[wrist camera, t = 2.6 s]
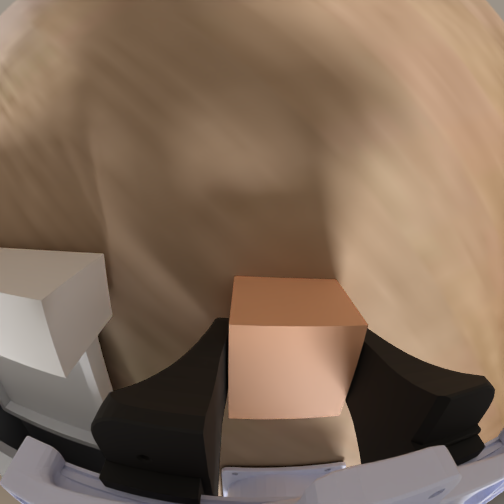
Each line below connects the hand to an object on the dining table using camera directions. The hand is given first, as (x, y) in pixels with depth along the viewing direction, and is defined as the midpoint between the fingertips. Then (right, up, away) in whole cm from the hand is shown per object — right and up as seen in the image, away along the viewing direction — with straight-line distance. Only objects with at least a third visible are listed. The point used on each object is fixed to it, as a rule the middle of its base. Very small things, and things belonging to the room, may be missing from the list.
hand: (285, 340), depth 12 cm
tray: (-15, -2, +1) cm, 15 cm away
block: (0, 0, +1) cm, 2 cm away
